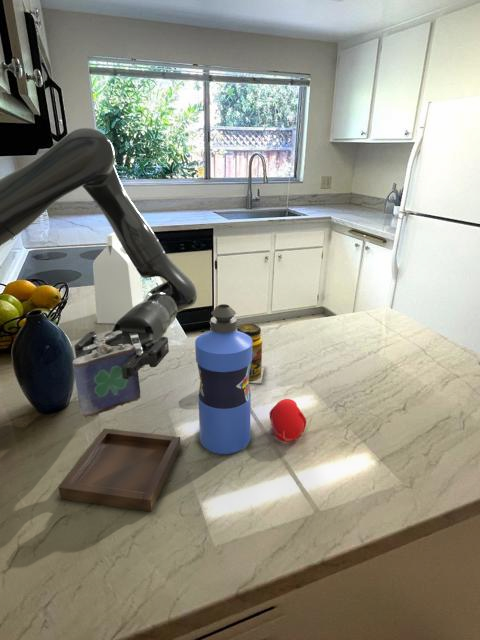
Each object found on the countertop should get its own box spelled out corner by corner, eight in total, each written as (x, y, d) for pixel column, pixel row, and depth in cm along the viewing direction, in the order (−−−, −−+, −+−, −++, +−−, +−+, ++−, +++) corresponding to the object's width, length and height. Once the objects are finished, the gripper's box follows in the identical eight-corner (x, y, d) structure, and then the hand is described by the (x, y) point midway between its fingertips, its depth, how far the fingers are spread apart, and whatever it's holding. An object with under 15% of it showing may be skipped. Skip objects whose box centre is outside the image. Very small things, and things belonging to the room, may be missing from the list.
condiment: (261, 384, 89) (262, 334, 85) (223, 380, 91) (223, 332, 86) (264, 368, 96) (265, 322, 92) (229, 365, 97) (229, 319, 93)
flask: (84, 420, 58) (72, 353, 54) (78, 411, 60) (66, 346, 56) (143, 398, 63) (136, 336, 59) (136, 391, 65) (129, 330, 62)
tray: (60, 498, 59) (58, 487, 58) (105, 438, 72) (103, 428, 71) (151, 512, 57) (150, 500, 56) (180, 447, 70) (180, 436, 69)
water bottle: (193, 451, 69) (186, 315, 59) (205, 419, 77) (201, 295, 68) (247, 457, 67) (249, 318, 58) (253, 423, 76) (256, 298, 67)
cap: (310, 445, 70) (312, 416, 68) (277, 449, 69) (278, 420, 67) (296, 418, 78) (298, 391, 75) (266, 421, 77) (267, 394, 74)
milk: (110, 309, 133) (100, 230, 124) (144, 310, 133) (138, 230, 123) (97, 323, 122) (85, 237, 112) (134, 323, 122) (126, 237, 112)
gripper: (103, 304, 72) (48, 344, 57) (181, 309, 70) (145, 351, 55) (108, 342, 75) (57, 389, 60) (183, 347, 73) (150, 398, 58)
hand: (100, 371), depth 57 cm, fingers closed on flask, 7 cm apart
